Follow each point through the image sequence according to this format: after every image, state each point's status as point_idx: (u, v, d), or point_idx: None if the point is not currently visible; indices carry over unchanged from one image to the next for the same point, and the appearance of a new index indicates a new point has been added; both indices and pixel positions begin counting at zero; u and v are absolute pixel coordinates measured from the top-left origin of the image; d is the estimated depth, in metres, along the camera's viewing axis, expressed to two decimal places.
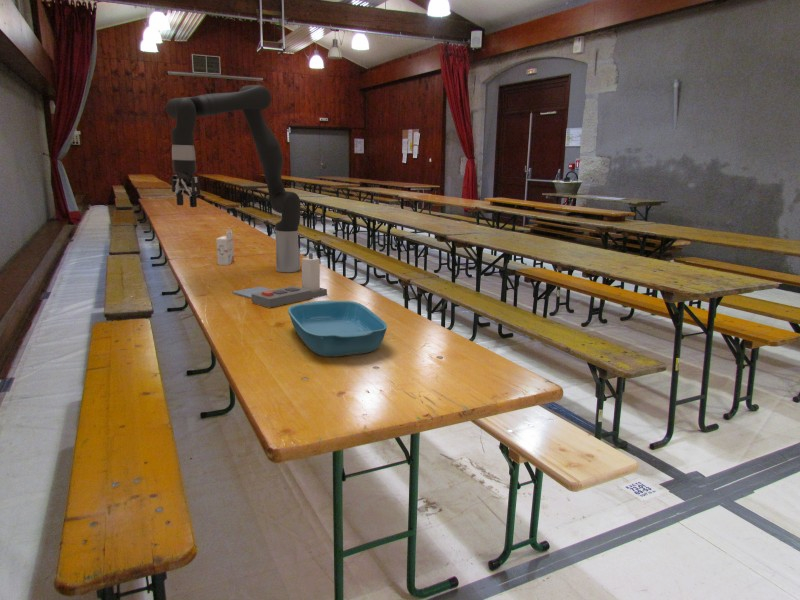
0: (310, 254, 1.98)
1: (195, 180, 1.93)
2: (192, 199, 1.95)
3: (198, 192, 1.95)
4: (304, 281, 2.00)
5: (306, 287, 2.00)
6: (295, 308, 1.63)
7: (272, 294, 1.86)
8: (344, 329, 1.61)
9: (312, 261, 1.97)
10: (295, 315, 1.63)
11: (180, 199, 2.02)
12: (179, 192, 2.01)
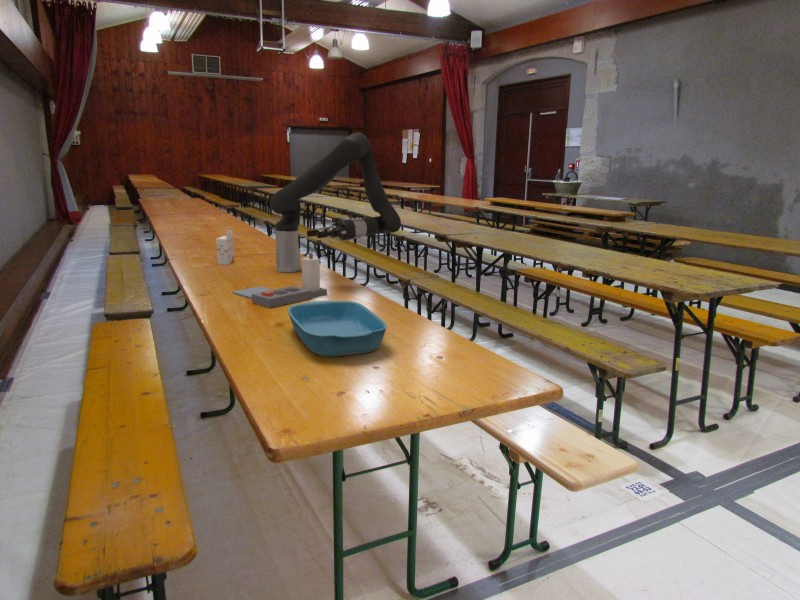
0: (310, 254, 1.98)
1: None
2: None
3: None
4: (304, 281, 2.00)
5: (306, 287, 2.00)
6: (295, 308, 1.63)
7: (272, 294, 1.86)
8: (344, 329, 1.61)
9: (312, 261, 1.97)
10: (295, 315, 1.63)
11: None
12: None
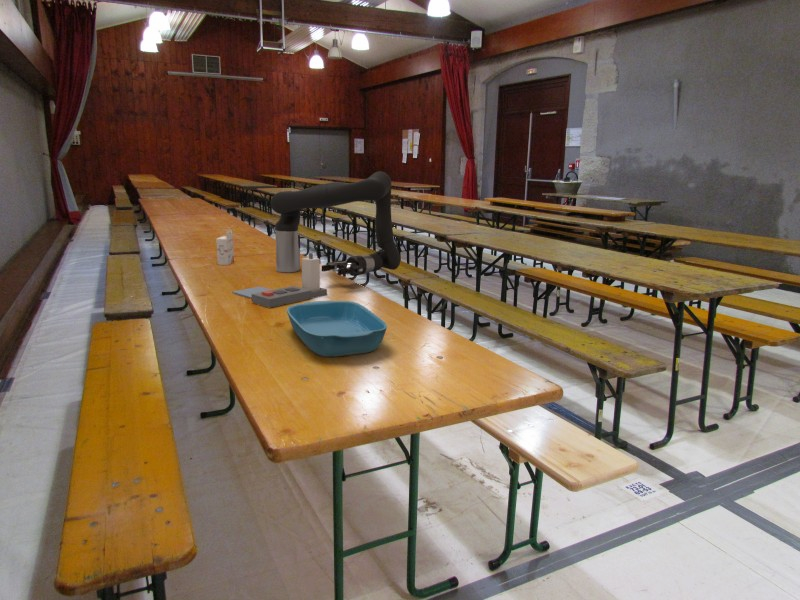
0: (310, 254, 1.98)
1: None
2: None
3: None
4: (304, 281, 2.00)
5: (306, 287, 2.00)
6: (293, 308, 1.63)
7: (272, 294, 1.86)
8: (343, 329, 1.61)
9: (312, 261, 1.97)
10: (294, 315, 1.62)
11: None
12: None
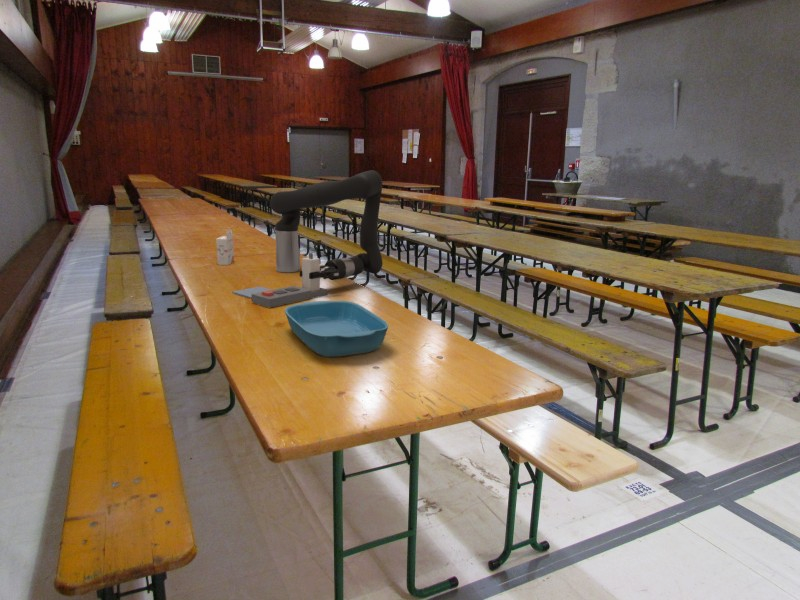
0: (310, 254, 1.98)
1: None
2: None
3: None
4: (304, 281, 2.00)
5: (306, 287, 2.00)
6: (291, 309, 1.62)
7: (272, 294, 1.86)
8: (341, 329, 1.61)
9: (312, 261, 1.97)
10: (291, 316, 1.61)
11: None
12: None
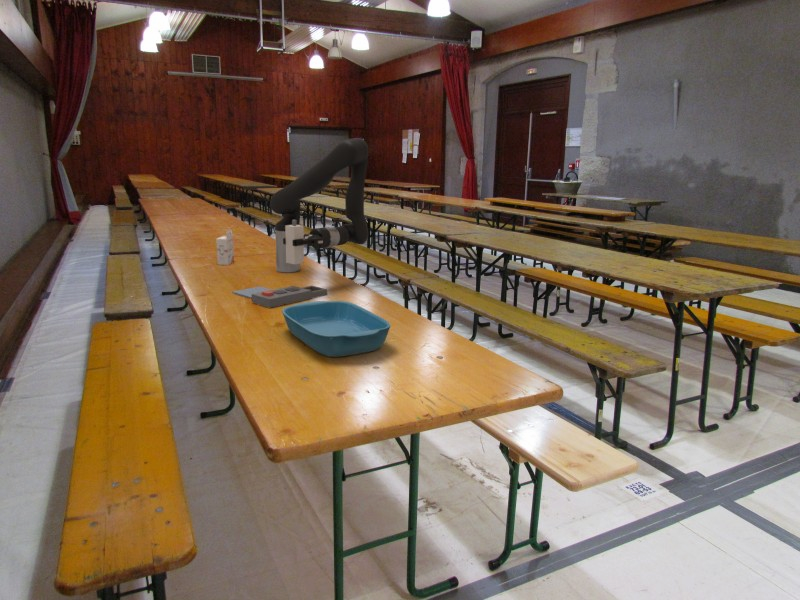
0: (294, 221, 1.95)
1: None
2: None
3: None
4: (288, 249, 1.97)
5: (290, 255, 1.97)
6: (287, 310, 1.61)
7: (272, 294, 1.86)
8: (339, 329, 1.61)
9: (295, 228, 1.94)
10: None
11: None
12: None
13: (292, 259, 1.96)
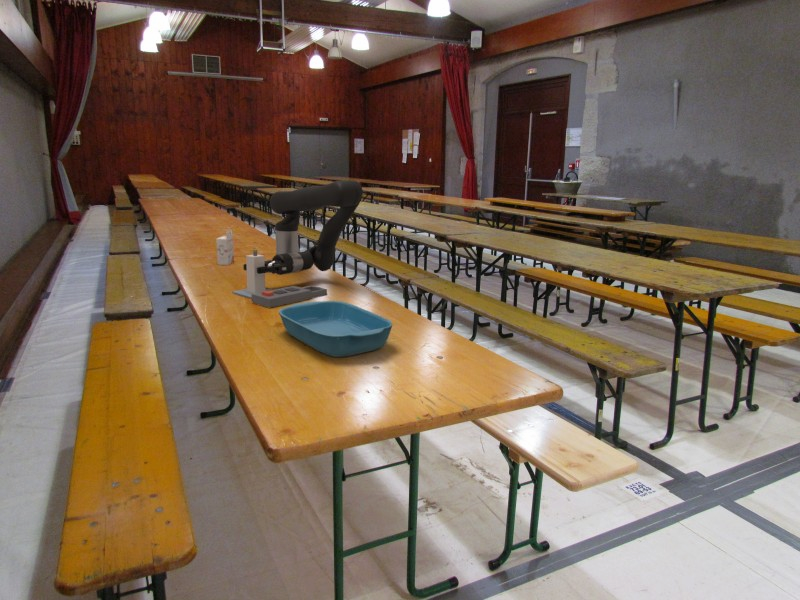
0: (254, 251, 1.96)
1: None
2: None
3: None
4: (249, 278, 1.98)
5: (251, 284, 1.98)
6: (284, 311, 1.60)
7: (272, 294, 1.86)
8: (337, 329, 1.61)
9: (256, 258, 1.95)
10: None
11: None
12: None
13: (253, 289, 1.98)
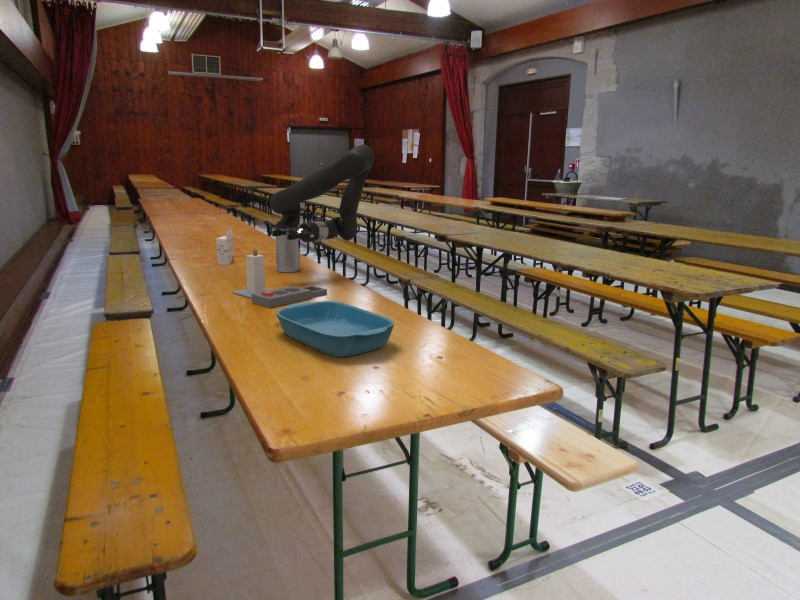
0: (254, 251, 1.96)
1: None
2: None
3: None
4: (249, 278, 1.98)
5: (251, 284, 1.98)
6: (280, 313, 1.58)
7: (272, 294, 1.86)
8: (334, 329, 1.61)
9: (256, 258, 1.95)
10: None
11: None
12: None
13: (253, 289, 1.98)
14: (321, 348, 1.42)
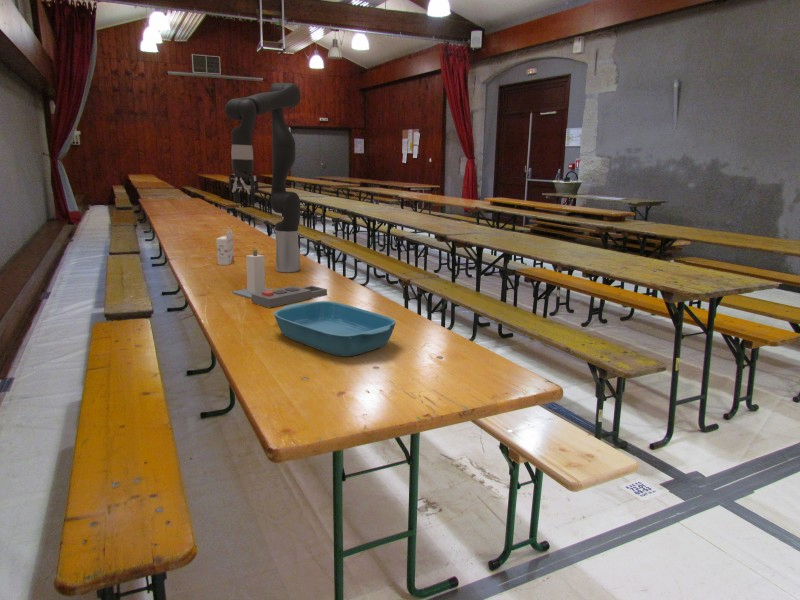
0: (254, 251, 1.96)
1: (254, 179, 2.00)
2: (250, 197, 2.02)
3: (256, 190, 2.01)
4: (249, 278, 1.98)
5: (251, 284, 1.98)
6: (277, 314, 1.57)
7: (272, 294, 1.86)
8: (332, 329, 1.61)
9: (256, 258, 1.95)
10: None
11: (237, 197, 2.08)
12: (236, 190, 2.08)
13: (253, 289, 1.98)
14: (325, 348, 1.42)
